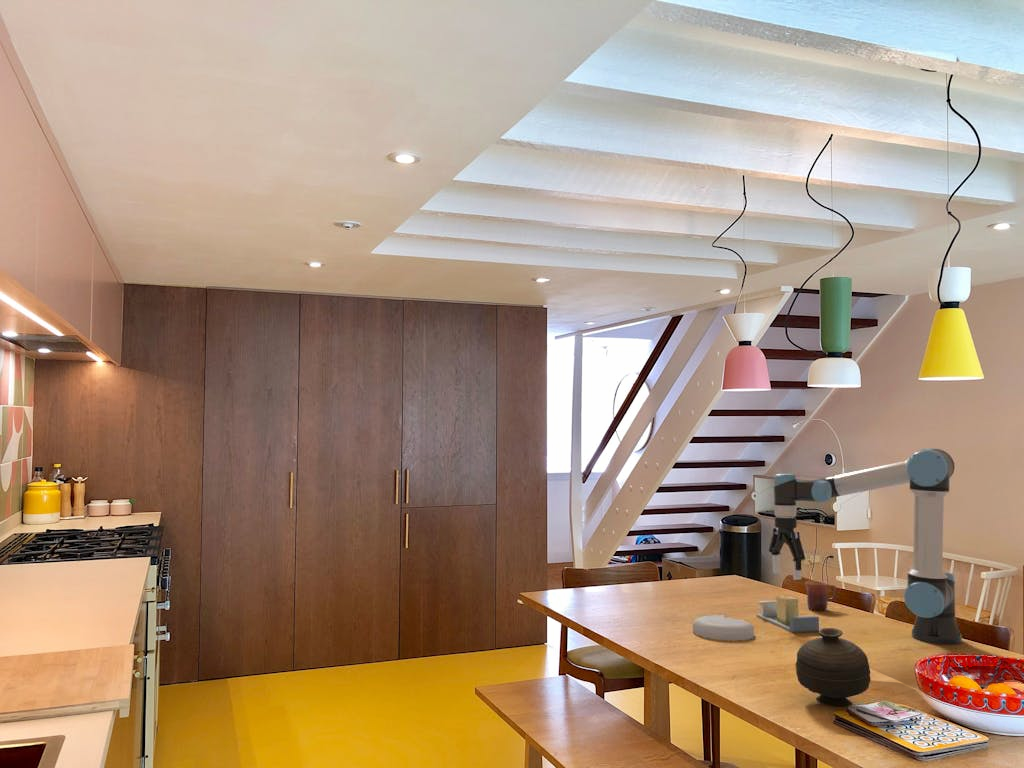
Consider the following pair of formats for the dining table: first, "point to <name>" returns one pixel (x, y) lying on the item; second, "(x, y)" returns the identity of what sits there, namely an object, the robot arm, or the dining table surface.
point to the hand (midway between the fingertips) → (786, 576)
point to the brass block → (786, 609)
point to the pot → (833, 668)
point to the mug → (818, 595)
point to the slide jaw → (768, 608)
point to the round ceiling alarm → (723, 628)
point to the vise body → (796, 623)
